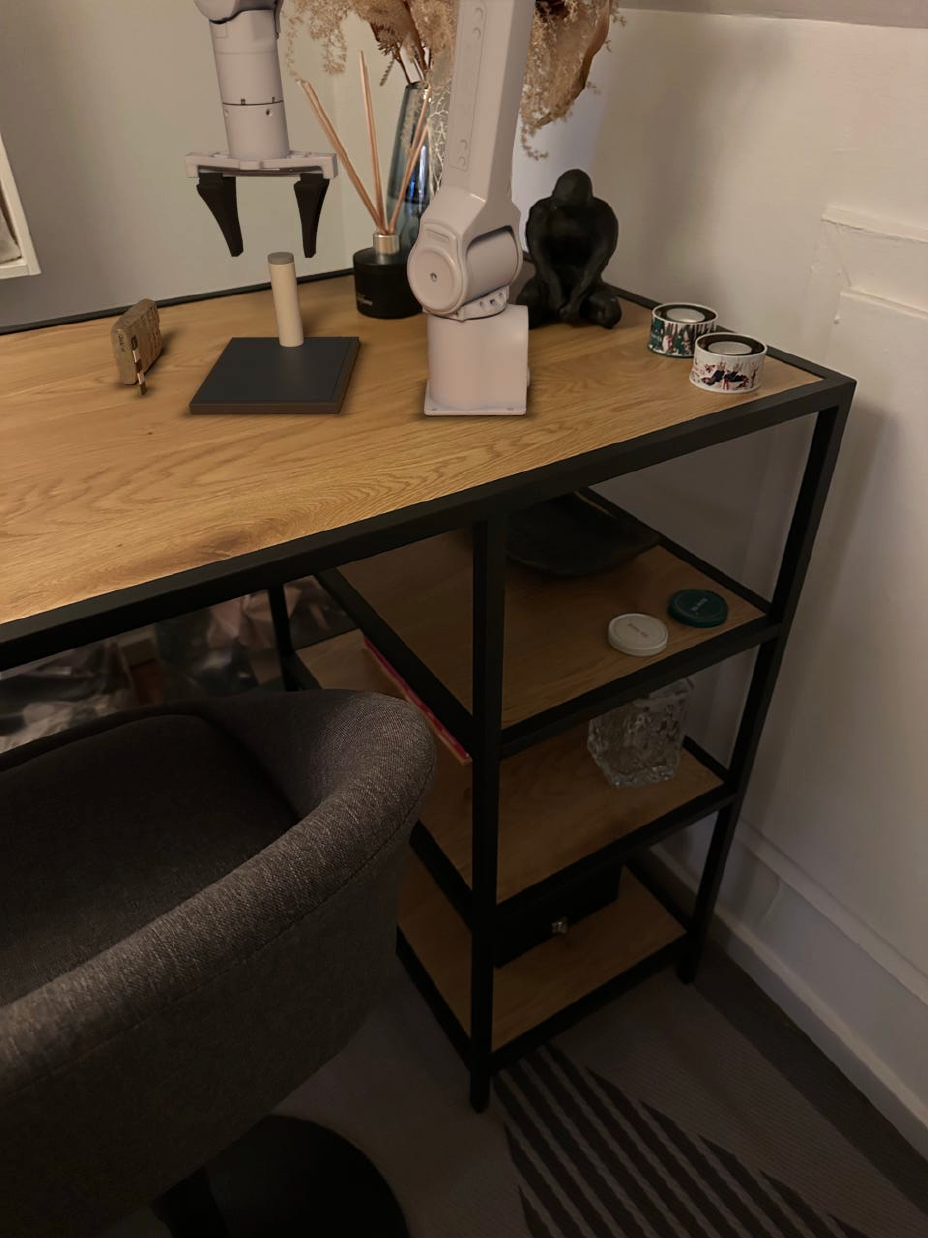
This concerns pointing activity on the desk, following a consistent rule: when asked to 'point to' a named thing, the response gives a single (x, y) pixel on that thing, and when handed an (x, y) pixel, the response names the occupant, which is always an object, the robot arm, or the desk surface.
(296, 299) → the stylus
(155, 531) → the desk surface
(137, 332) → the cuneiform tablet
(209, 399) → the plate
